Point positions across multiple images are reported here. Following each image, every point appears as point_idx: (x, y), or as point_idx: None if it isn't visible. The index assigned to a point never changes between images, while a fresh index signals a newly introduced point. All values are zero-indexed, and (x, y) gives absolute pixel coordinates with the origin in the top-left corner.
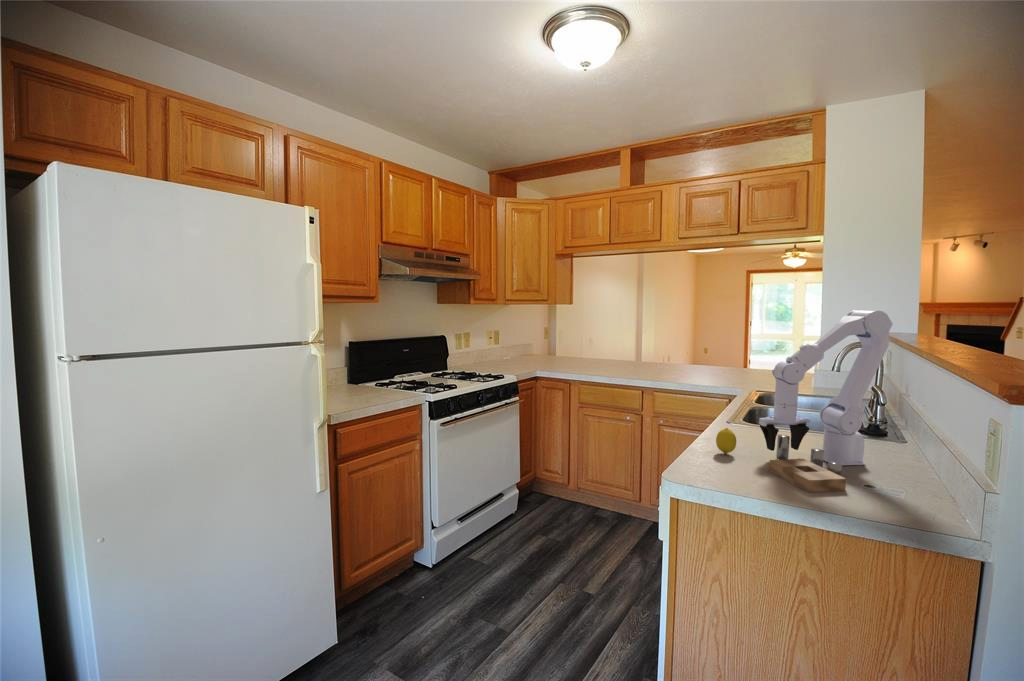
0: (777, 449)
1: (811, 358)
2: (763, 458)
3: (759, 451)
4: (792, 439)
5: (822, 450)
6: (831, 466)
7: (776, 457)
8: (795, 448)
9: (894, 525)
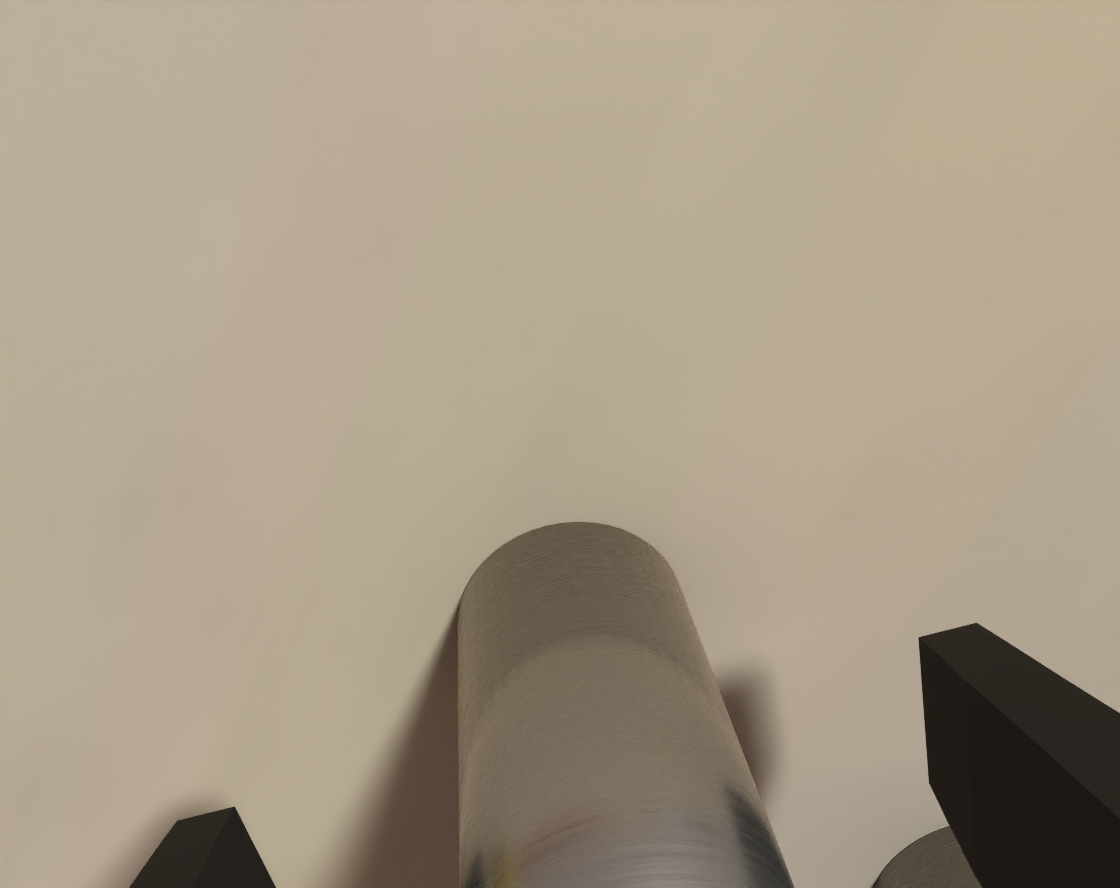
0: (459, 796)
1: None
2: (168, 631)
3: (220, 96)
4: (1077, 853)
5: None
6: None
7: (459, 623)
8: (944, 785)
9: None
